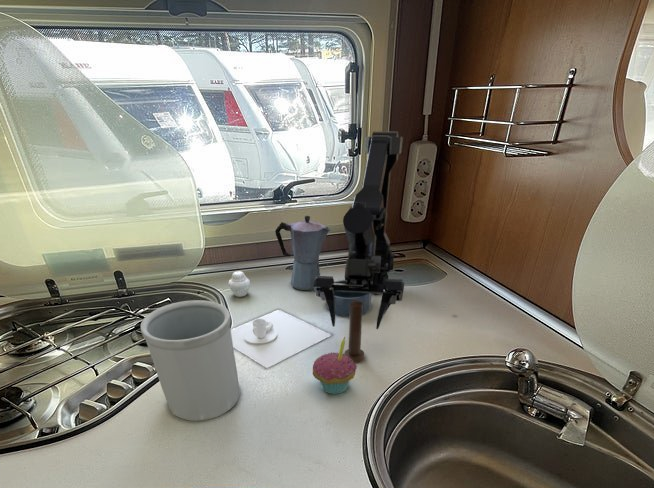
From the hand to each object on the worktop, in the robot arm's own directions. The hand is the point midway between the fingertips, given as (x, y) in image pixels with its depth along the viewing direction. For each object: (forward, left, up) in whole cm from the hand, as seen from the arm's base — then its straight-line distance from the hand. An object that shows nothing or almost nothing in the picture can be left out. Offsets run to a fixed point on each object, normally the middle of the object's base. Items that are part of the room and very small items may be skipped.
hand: (355, 327), depth 88 cm
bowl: (-18, +19, -8) cm, 28 cm away
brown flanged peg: (0, 0, -8) cm, 8 cm away
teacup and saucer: (-21, -5, -8) cm, 23 cm away
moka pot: (-37, +21, -8) cm, 44 cm away
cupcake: (+4, -11, -8) cm, 14 cm away
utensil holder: (-12, -31, -8) cm, 34 cm away
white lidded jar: (-46, +4, -8) cm, 47 cm away
